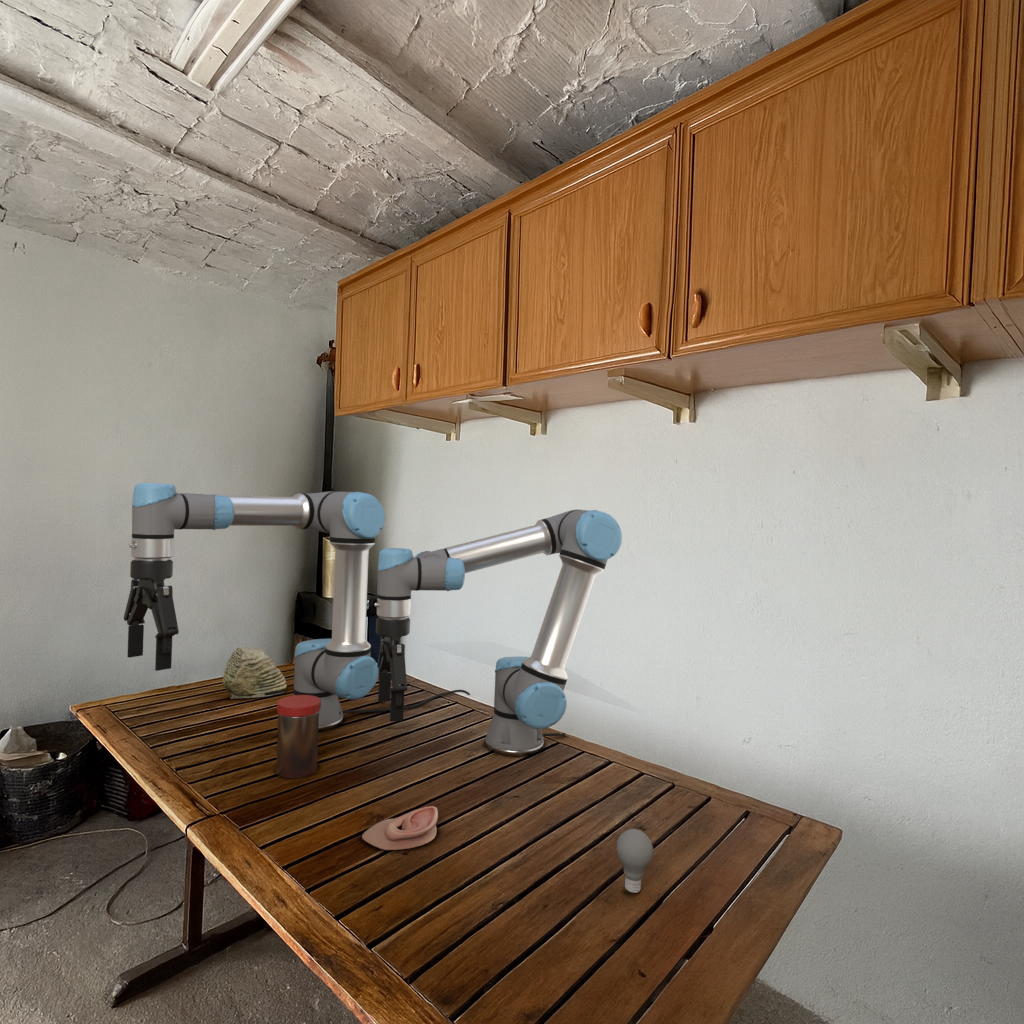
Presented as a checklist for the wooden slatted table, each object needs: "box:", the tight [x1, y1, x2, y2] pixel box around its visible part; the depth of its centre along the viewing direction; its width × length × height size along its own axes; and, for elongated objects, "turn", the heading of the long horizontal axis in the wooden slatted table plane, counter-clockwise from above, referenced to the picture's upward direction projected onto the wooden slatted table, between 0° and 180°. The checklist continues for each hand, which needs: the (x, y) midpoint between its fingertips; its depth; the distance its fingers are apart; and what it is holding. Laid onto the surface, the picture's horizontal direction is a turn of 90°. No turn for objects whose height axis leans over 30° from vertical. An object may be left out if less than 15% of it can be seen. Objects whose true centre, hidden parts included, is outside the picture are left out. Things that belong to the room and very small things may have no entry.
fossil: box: [222, 646, 288, 699], centre depth 198 cm, size 9×18×15 cm, turn 132°
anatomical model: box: [361, 805, 439, 851], centre depth 120 cm, size 13×4×12 cm
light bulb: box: [615, 828, 654, 894], centre depth 106 cm, size 6×6×10 cm
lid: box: [276, 694, 321, 717], centre depth 146 cm, size 10×10×2 cm
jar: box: [275, 711, 319, 779], centre depth 146 cm, size 9×9×16 cm
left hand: (148, 662), depth 129 cm, fingers open, 13 cm apart
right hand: (390, 710), depth 143 cm, fingers open, 13 cm apart
